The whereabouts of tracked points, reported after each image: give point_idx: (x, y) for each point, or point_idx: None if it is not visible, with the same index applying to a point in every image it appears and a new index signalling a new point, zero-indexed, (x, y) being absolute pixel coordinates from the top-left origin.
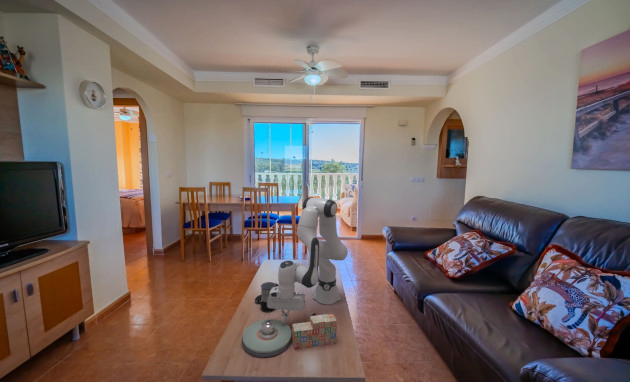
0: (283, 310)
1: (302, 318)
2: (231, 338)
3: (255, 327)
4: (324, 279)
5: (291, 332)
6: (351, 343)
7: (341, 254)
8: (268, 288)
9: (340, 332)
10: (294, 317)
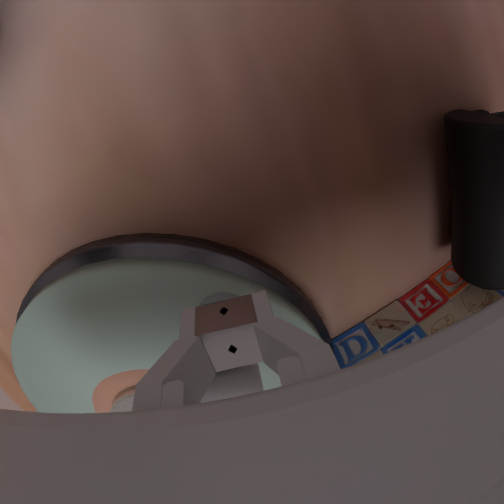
0: (184, 378)
1: (332, 39)
2: (27, 403)
3: (58, 395)
4: None
5: (316, 316)
6: None
7: None
8: None
9: None
10: (240, 42)
